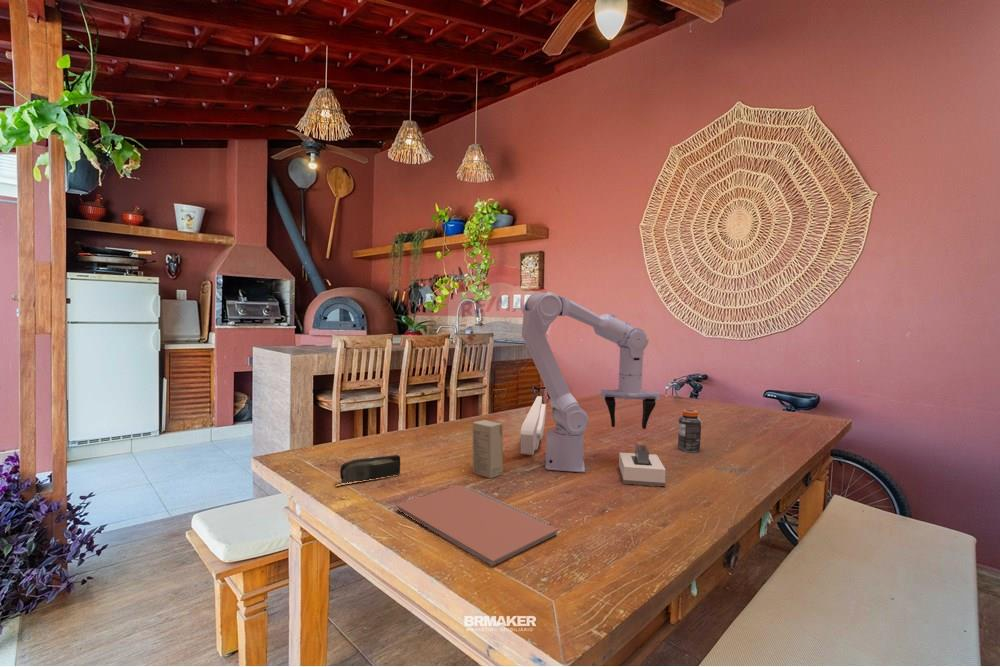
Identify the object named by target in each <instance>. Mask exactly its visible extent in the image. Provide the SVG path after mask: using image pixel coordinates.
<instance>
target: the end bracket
mask: <svg viewBox="0 0 1000 667" xmlns="http://www.w3.org/2000/svg"><path fill="white" fill-rule="evenodd" d="M634 449H635V450H634V453H635V465H648V464H649V454H650V451H649V448H647V445H643V444H635V446H634Z"/></svg>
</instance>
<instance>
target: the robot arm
mask: <svg viewBox="0 0 1000 667" xmlns="http://www.w3.org/2000/svg"><path fill="white" fill-rule="evenodd" d="M522 313H523V316H522V317H523V318H522V327H521V329H522V330H521V336H522V339H523V341H524V343H525V346H526V348H527V350H528V352H529V354H530V356H531V359H532V361H533V363H534V365H535V368H536V369H537V372H538V374H539V376H540V378H541V380H542V383H543V384H544V388H545V389H546V392H547V394H548V396H549V398H550V400H549V404H550V407H551V416H552V420H553V422H555V426H554V429H553V430H552V429H551V430H550V429H549V430H546V440H545V441H546V442H545V444H546V445H545V452H544V461H545V466H544V467H545V470H547V471H558V472H560V471H563V472H573V473H575V472H576V473H585V472H586V468H585V467H586V466H585V461H584V446H585V445H584V444H585V442H584V441H585V440H584V439H585V438H584V436H585V431H586V429H587V427H588V426H589V423H590V422H589V421H590V420H589V419H590V418H589V415H588V413H587V412H586V411H585V410H584V409H582V408H581V406H580V405H579V402H578V401H577V399H576V398H575V397H574V395H573V394H572V393H571V391H570V388H569V387H568V384H567V381H566V380H565V378H564V375H563V373H562V370H561V368H560V366H559V365H558V362H557V359H556V356H555V355H554V353H553V350H552V348H551V346H550V344H549V342H548V339H547V338H546V334H547V331H548V330H549V328H550V325H552V323H553V322H554V321H555V320H556V319H557V318H558V317H564V316H566V317H570V318H571V319H574V320H576V321H578V322H580V323H583V324H586V325H588V326H590V327H592V328H593V331H594V333H595V335H597V336H599V337H601V338H603V339H605V340H608V341H610V342H611V343H614V344H616V345H617V347H618V348H619V364H618V367H619V368H618V389H600V394H599V395H600V396H599V397H600V399H604V401H605V403H606V407H607V409H608V412H609V416H610V423H611V427H612V428H615V427H616V417H615V416H616V399H620V400H621V399H622V400H623V399H624V400H641V401H642V419H641V428H642V430H646V429H647V425H648V422H649V418H650V416H651V415H652V414H651V413H652V412H653V410H654V408H655V406H656V405H657V404H656V402H660V399H661V398H660V397H661V393H660V392H657V391H647V390H642V387H643V386H642V384H643V366H644V363H643V362H644V354H645V349H646V348H647V346H648V345H649V338H647V334H646V333H645V330H643V329H641V328H639V327H632V323H630V322H629V321H626V322H625V321H622V320H621V319H619V318H616V317H617V315H616V314H613V313H603V314H600V315H598V314H597V313H595V312H593V311H591V310H590V309H587V308H586V307H584V306H582V305H580V304H579V303H577V302H575V301H573V300H572V299H569V298H567V297H564V296H563V295H562V296H561V295H557V293H554V292H544V293H541V292H536V293H532V294H531V295H529V296H528V298H527V299H526V301H525V303H524V305H523V306H522Z"/></svg>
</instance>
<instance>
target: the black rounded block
mask: <svg viewBox="0 0 1000 667" xmlns="http://www.w3.org/2000/svg"><path fill="white" fill-rule="evenodd" d="M339 470H340V471H339V472H340V474H339V475H340V479H341V482H338V483H336V484H335V486H336V485H337V484H341V483H347V482H348V483H349V482H354V481H363V480H369V479H376V478H381V477H387V476H393V475H398V474H399V475H400V473H401V457H400V456H399V454H398V455H397V454H392V455H383V456H375V457H365V458H356V459H353V460H349V461H347V462H345V463H343V464H342V465H341V466H340V469H339ZM399 475H398V476H399Z"/></svg>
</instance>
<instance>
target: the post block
mask: <svg viewBox="0 0 1000 667" xmlns="http://www.w3.org/2000/svg"><path fill="white" fill-rule="evenodd" d="M618 454H619V455H618V470H620V471H619V473H621V474H620V476H621V479H622V483H624V484H623V485H628V484H634V485H633V486H641V485H653V486H652V487H655V486H665V487H666V470H667V469H666V468H665V466H664V464H663V463H662V460H661V459H660V458H659V456H658V455H657V454H650V453H649V464H648V465H635V452H619V453H618ZM636 484H638V485H636Z"/></svg>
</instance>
